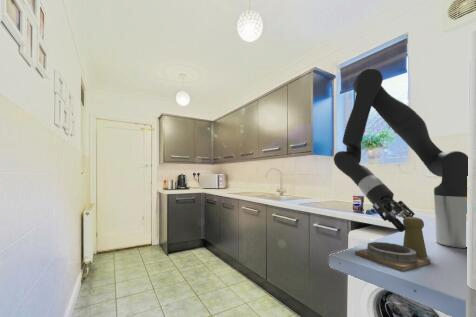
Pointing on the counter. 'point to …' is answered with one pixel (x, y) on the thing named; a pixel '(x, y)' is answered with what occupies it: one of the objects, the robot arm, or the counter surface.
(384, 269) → the counter surface
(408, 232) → the brown tapered knobbed cylinder
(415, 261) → the spice stand
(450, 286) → the counter surface
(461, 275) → the counter surface
